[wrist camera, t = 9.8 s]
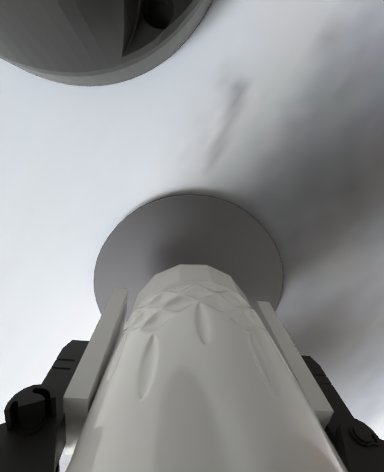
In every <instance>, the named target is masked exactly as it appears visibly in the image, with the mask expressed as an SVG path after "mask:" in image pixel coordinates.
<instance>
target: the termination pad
mask: <svg viewBox="0 0 384 472" xmlns="http://www.w3.org/2000/svg"><path fill="white" fill-rule="evenodd" d="M180 264H190V265H208V266H211V267H213V268H215V269H217V270H219V271H221V272H223V273H226V274H228V275H230V276H231V277H232V279H233V280H234V281H235V283H236V284H237V285H238V286H239V288H240V289H241V290H242V292H243V293H244V294H245V296H246V298H247V300H248V302H249V303H250V305H251V307H252V309H254V310H255V306H256V302H257V301H263V302H269V303H270V304H271V306H272V308H273V310H274V311H275V310H276V308H277V306H278V303H279V300H280V297H281V292H282V287H283V269H282V263H281V259H280V255H279V252H278V250H277V247H276V245H275V243H274V242H273V240H272V238H271V236H270V235H269V234H268V232H267V231H266V230H265V229H264V227H263V226H262V225H261V224H260V223H259V222H258V221H256V220H255V219H254V218H253V217H252V216H251V215H250V214H248V213H247V212H245V211H244V210H243V209H241V208H239V207H237V206H235V205H233V204H231V203H229V202H227V201H224V200H221V199H218V198H214V197H209V196H204V195H176V196H171V197H166V198H162V199H159V200H156V201H153V202H150V203H148V204H146V205H144V206H142V207H140V208H138V209H137V210H136V211H134V212H133V213H131V214H130V215H128V216H127V217H126V218H125V219H124V220H123V221H122V222H121V223H119V224H118V226H117V227H116V228H115V229H114V230H113V232H112V233H111V234H110V235H109V237H108V238H107V240H106V241H105V243H104V245H103V246H102V248H101V251H100V253H99V256H98V258H97V262H96V266H95V271H94V292H95V297H96V301H97V305H98V307H99V310H100V312H101V314H103V311H104V309H105V307H106V305H107V303H108V301H109V299H110V297H111V294H112V292H113V290H114V288H119V289H128V299H127V316H126V323H127V321H128V319H129V318H130V315H131V312H132V309H133V307H134V304H135V301H136V298H137V295H138V293H139V292H140V291H141V290H142V289H143V288H144V287H145V285H146V284H147V283H148V282H149V281H150V280H151V279H152V278H153V276H154V275H156V274H158V273H160V272H163V271H165V270H167V269H170V268H172V267H175V266H177V265H180Z"/></svg>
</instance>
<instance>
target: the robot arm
mask: <svg viewBox="0 0 384 472" xmlns="http://www.w3.org/2000/svg"><path fill="white" fill-rule="evenodd" d="M211 2H212V0H0V58H2V59H3V60H5V61H7V62H9V63H11V64H13V65H15V66H17V67H19V68H21V69H23V70H25V71H27V72H29V73H32V74H34V75H36V76H39V77H42V78H45V79H48V80H51V81H55V82H59V83H64V84H69V85H77V86H102V85H109V84H115V83H119V82H123V81H126V80H129V79H132V78H135V77H137V76H139V75H142V74H144V73H146V72H147V71H149V70H151V69H153V68H154V67H156V66H157V65H159V64H161V63H162V62H163V61H165V60H166V59H167V58H168V57H170V56H171V55H172V54H173V53H174V52H175V51H176V50H177V49H178V48H179V47H180V46H181V45H182V44H183V43H184V42H185V41H186V40H187V39H188V37H189V36H190V35H191V34H192V32H193V31H194V30H195V28H196V27H197V25H198V24H199V23H200V21H201V19H202V18H203V16H204V14H205V13H206V11H207V9H208V7H209V5H210V3H211ZM127 299H128V289H119V288H114V290H113V292H112V294H111V297H110V299H109V301H108V303H107V305H106V307H105V309H104V311H103V314H102V316H101V318H100V320H99V322H98V324H97V326H96V328H95V331H94V333H93V335H92V337H91V339H90V341H79V340H72V341H71V342H70V343H68V344H67V345H66V346H65V347H64V348H63V349H62V350H61V352H60V354H59V355H58V357H57V360H56V361H55V362H54V364H53V366H52V368H51V369H50V371H49V372H48V374H47V376H46V377H45V379H44V381H43V383H42V384H40V385H32V386H30V387H27V388H24V389H23V390H21V391H20V392H18V393H17V394H15V395H14V396H13V397H12V398H11V400H10V401H9V402H8V403H7V405H6V408H5V410H4V414H5V421H6V423H3V424H0V472H59V460H60V457H61V455H62V452H63V449H64V447H65V455H72V454H73V451H74V448H75V446H76V443H77V441H78V438H79V436H80V433H81V430H82V428H83V425H84V423H85V420H86V418H87V415H88V413H89V410H90V407H91V405H92V402H93V400H94V397H95V395H96V392H97V389H98V387H99V384H100V382H101V379H102V377H103V375H104V372H105V370H106V368H107V365H108V363H109V361H110V359H111V357H112V355H113V352H114V349H115V347H116V344H117V342H118V339H119V337H120V334H121V332H122V330H123V328H124V327H125V325H126V316H127ZM255 312H256V313H257V315H258V316H259V318H260V319H261V321H262V323H263V325H264V326H265V328H266V330H267V331H268V333H269V334H270V336H271V338H272V339H273V341H274V342H275V344H276V346H277V347H278V349H279V351H280V352H281V354H282V356H283V358H284V359H285V361H286V363H287V365H288V366H289V368H290V370H291V372H292V374H293V375H294V377H295V379H296V381H297V382H298V384H299V386H300V388H301V389H302V391H303V393H304V395H305V397H306V398H307V400H308V402H309V404H310V405H311V407H312V409H313V411H314V412H315V414H316V416H317V418H318V420H319V421H320V423H321V425H322V427H323V428H324V430H325V432H326V434H327V435H328V437H329V439H330V441H331V442H332V444H333V446H334V448H335V449H336V451H337V453H338V455H339V456H340V458H341V460H342V462H343V463H344V465H345V467H346V469H347V470H348V472H384V440H381V439H379V437H378V436H377V435H376V434H375V433H374V431H373V430H372V429H371V428H370V427H368V426H367V425H366V424H365V423H363V422H361V421H359V420H357V419H355V418H354V417H353V416H352V414H351V413H350V411H349V410H348V408H347V407H346V405H345V404H344V402H343V401H342V399H341V398H340V396H339V394H338V393H337V391H336V390H335V388H334V387H333V386H332V385H331V382H330V381H329V379H328V378H327V377H326V375H325V373H324V371H323V370H322V368H321V367H320V365H319V364H318V363H317V362H315V361H314V360H313V359H312V358H311V357H310V356H301V355H300V353H299V352H298V350H297V348H296V347H295V345H294V343H293V342H292V340H291V338H290V337H289V335H288V333H287V331H286V330H285V328H284V326H283V325H282V323H281V321H280V320H279V318H278V316H277V315H276V313H275V311H274V310H273V308H272V306H271V304H270V303H269V302H263V301H257V302H256V306H255Z"/></svg>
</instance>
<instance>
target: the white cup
mask: <svg viewBox="0 0 384 472" xmlns="http://www.w3.org/2000/svg"><path fill="white" fill-rule="evenodd" d="M65 472H348V470H347V469H346V467H345V465H344V463H343V462H342V460H341V458H340V456H339V455H338V453H337V451H336V449H335V448H334V446H333V444H332V442H331V441H330V439H329V437H328V435H327V434H326V432H325V430H324V428H323V427H322V425H321V423H320V421H319V420H318V418H317V416H316V414H315V412H314V411H313V409H312V407H311V405H310V404H309V402H308V400H307V398H306V397H305V395H304V393H303V391H302V389H301V388H300V386H299V384H298V382H297V381H296V379H295V377H294V375H293V374H292V372H291V370H290V368H289V366H288V365H287V363H286V361H285V359H284V358H283V356H282V354H281V352H280V351H279V349H278V347H277V346H276V344H275V342H274V341H273V339H272V338H271V336H270V334H269V333H268V331H267V330H266V328H265V326H264V325H263V323H262V321H261V319H260V318H259V316H258V315H257V313H256V312H255V310H254V309H252V307H251V305H250V303H249V302H248V300H247V298H246V296H245V294H244V293H243V292H242V290H241V289H240V288H239V286H238V285H237V284H236V283H235V281H234V280H233V279H232V277H231V276H230V275H228V274H226V273H223V272H221V271H219V270H217V269H215V268H213V267H211V266H208V265H190V264H180V265H177V266H175V267H172V268H170V269H167V270H165V271H163V272H160V273H158V274H156V275H154V276H153V278H152V279H151V280H150V281H149V282H148V283H147V284H146V285H145V287H144V288H143V289H142V290H141V291H140V292H139V293H138V295H137V298H136V301H135V304H134V307H133V309H132V312H131V315H130V318H129V319H128V321H127V323H126V325H125V327H124V328H123V330H122V332H121V334H120V337H119V339H118V342H117V344H116V347H115V349H114V352H113V355H112V357H111V359H110V361H109V363H108V365H107V368H106V370H105V372H104V375H103V377H102V379H101V382H100V384H99V387H98V389H97V392H96V395H95V397H94V400H93V402H92V405H91V407H90V410H89V413H88V415H87V418H86V420H85V423H84V425H83V428H82V430H81V433H80V436H79V438H78V441H77V443H76V446H75V448H74V451H73V454H72V456H71V459H70V461H69V464H68V466H67V469H66V471H65Z"/></svg>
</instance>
